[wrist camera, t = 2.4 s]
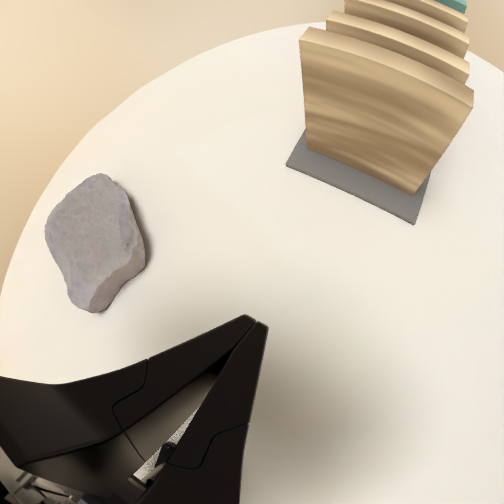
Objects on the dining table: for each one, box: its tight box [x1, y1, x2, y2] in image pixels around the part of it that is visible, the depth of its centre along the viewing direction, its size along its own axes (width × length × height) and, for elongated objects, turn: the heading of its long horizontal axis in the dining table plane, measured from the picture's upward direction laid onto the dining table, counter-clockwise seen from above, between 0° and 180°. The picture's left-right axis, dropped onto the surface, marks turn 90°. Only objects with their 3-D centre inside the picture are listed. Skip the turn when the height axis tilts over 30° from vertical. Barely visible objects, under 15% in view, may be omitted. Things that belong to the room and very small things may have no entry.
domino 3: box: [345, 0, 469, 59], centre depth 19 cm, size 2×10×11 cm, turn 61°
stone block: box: [45, 173, 145, 313], centre depth 26 cm, size 12×5×10 cm
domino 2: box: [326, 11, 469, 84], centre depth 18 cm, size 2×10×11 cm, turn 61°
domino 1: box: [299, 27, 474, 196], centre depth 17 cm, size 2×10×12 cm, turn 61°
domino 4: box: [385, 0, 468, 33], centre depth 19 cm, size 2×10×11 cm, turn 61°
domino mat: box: [286, 129, 431, 225], centre depth 24 cm, size 22×12×1 cm, turn 151°
